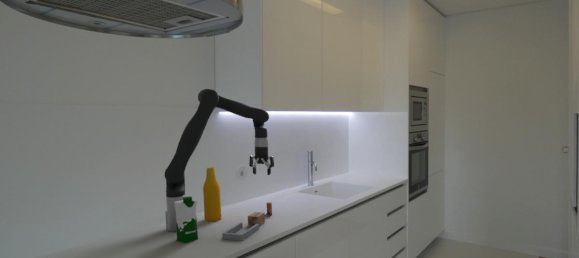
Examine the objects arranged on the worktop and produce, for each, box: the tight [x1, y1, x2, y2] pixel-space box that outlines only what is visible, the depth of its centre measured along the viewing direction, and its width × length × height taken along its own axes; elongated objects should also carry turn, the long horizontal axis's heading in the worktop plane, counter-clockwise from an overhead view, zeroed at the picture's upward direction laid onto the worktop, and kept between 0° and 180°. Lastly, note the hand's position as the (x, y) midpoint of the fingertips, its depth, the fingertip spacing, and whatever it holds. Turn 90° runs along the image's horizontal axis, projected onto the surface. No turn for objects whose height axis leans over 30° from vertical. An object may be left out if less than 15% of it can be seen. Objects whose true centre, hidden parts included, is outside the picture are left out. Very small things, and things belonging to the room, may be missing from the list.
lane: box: [221, 222, 260, 241], centre depth 171 cm, size 10×17×2 cm, turn 159°
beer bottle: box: [202, 166, 222, 223], centre depth 196 cm, size 9×9×29 cm
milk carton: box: [174, 196, 199, 244], centre depth 165 cm, size 9×9×20 cm
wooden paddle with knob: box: [247, 201, 273, 227], centre depth 193 cm, size 6×23×7 cm, turn 160°
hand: (261, 174), depth 200 cm, fingers open, 8 cm apart
